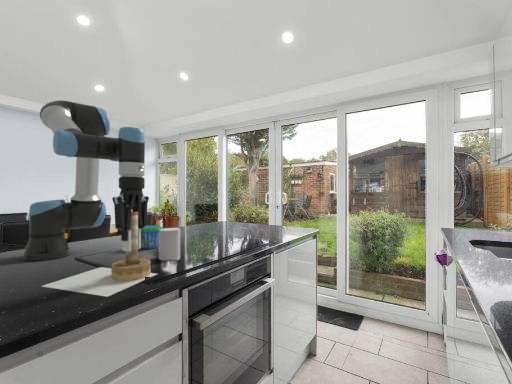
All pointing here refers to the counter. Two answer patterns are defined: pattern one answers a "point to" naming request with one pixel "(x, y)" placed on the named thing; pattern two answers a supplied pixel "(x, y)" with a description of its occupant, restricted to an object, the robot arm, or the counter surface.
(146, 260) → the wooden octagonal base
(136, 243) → the beige cylinder
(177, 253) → the grey rounded block
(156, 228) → the snack cup
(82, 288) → the mat
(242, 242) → the counter surface
